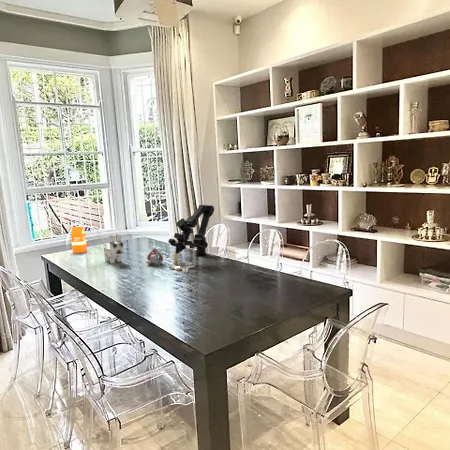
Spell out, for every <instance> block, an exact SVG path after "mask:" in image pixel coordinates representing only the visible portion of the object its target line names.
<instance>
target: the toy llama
mask: <svg viewBox="0 0 450 450" xmlns="http://www.w3.org/2000/svg"><path fill="white" fill-rule="evenodd" d="M115 238H116V241H115ZM108 239H109V246H108V247H104V248H103V249H104V262H105V263H109V264H111V265H115V264H116V263H118V264H119V263H122V254H125V250H124V248H125V247H124V242H123V241H122V235H121V234H119V233H118V234H115V235H109V236H108Z"/></svg>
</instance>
